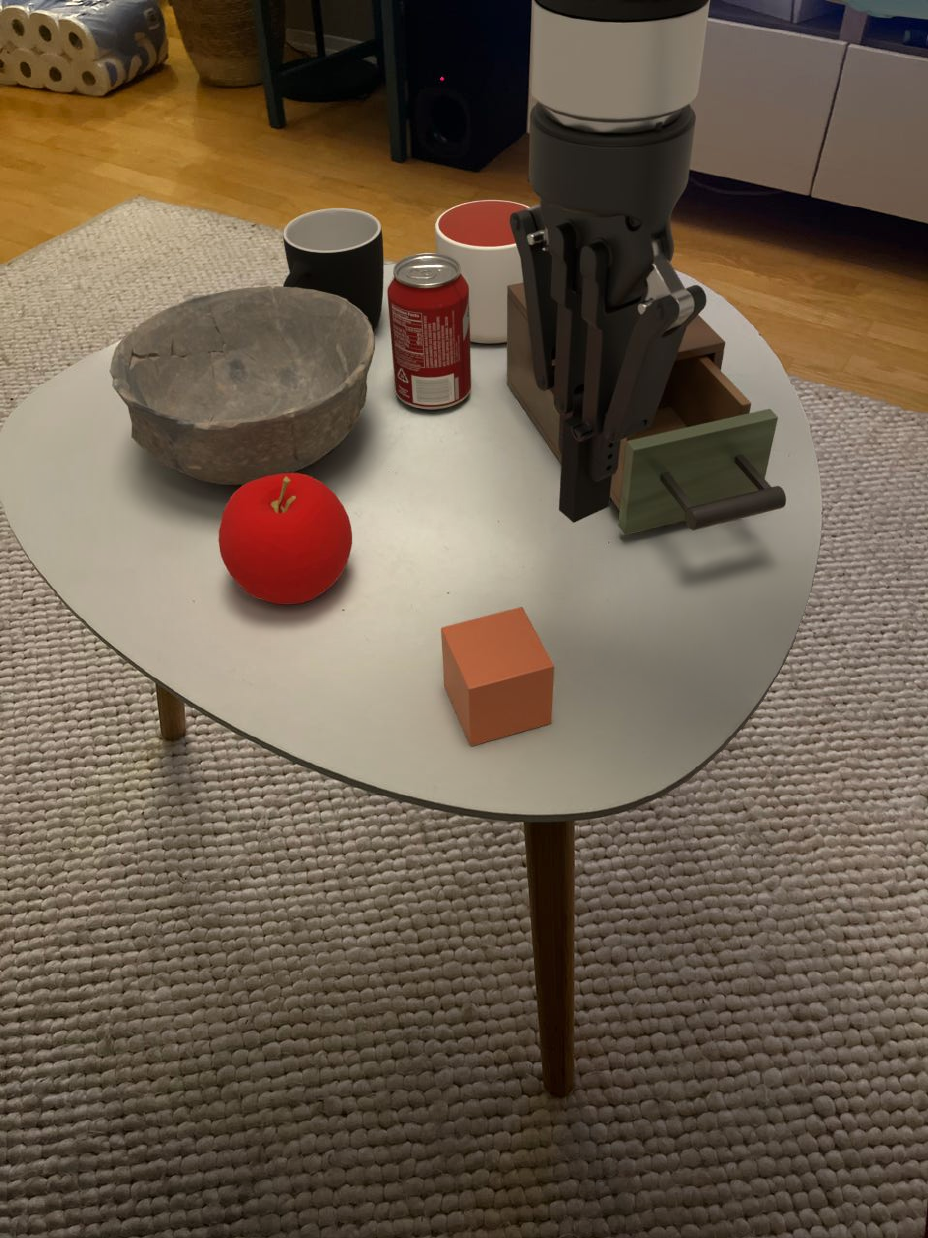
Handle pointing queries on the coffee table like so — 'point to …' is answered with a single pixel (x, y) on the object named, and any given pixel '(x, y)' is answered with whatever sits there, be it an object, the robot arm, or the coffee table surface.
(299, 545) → the fruit
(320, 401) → the bowl
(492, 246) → the cup
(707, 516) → the drawer
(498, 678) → the block
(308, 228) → the mug
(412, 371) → the soda can
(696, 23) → the robot arm
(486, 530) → the coffee table surface
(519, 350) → the cabinet
